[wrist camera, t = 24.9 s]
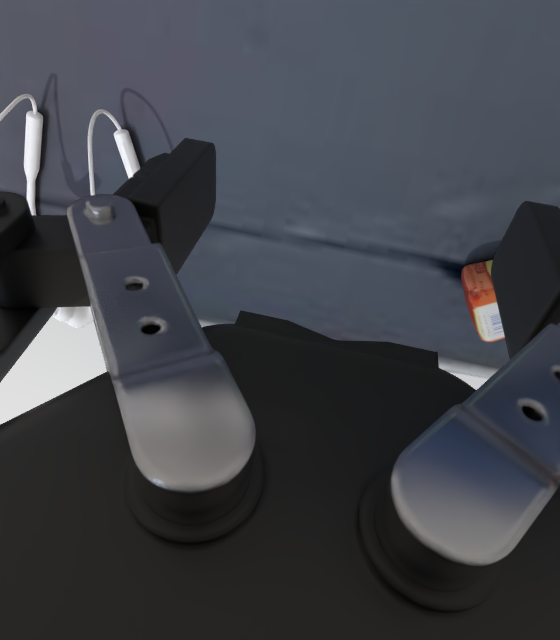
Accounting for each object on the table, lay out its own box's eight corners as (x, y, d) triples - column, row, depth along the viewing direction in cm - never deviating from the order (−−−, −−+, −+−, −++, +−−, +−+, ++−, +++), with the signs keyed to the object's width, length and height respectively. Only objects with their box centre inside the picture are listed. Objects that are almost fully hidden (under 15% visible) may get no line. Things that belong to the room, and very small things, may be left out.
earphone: (136, 102, 34) (87, 334, 34) (186, 174, 51) (153, 331, 51) (-36, 67, 35) (-86, 297, 35) (69, 150, 51) (36, 305, 51)
